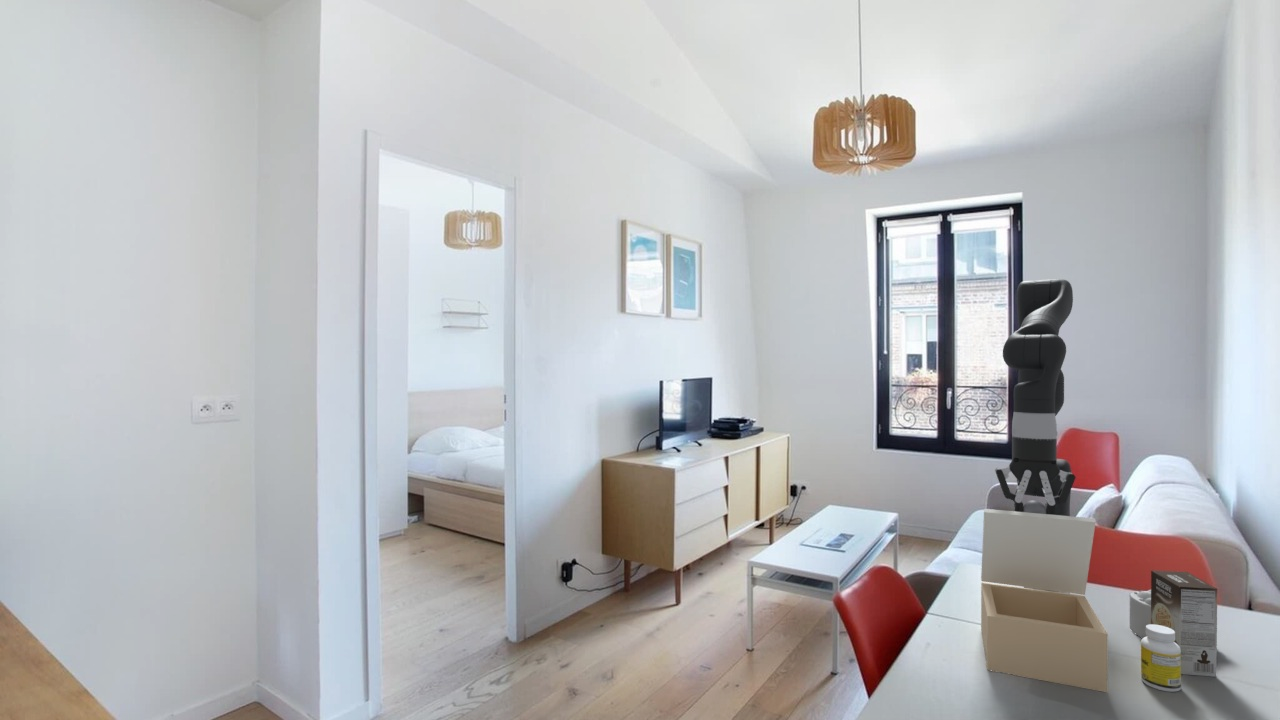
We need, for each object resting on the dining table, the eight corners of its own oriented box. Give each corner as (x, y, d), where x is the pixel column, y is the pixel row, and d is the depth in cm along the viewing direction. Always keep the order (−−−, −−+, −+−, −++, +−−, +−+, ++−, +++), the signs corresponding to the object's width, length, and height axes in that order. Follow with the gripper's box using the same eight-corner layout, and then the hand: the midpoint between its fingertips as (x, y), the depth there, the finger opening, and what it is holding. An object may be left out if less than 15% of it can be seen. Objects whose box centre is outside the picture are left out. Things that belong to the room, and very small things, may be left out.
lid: (981, 581, 133) (979, 558, 138) (1084, 594, 125) (1079, 569, 130) (984, 512, 124) (982, 490, 129) (1095, 522, 117) (1089, 498, 122)
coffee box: (1148, 651, 123) (1148, 568, 123) (1186, 654, 122) (1186, 571, 122) (1178, 674, 114) (1178, 585, 114) (1219, 678, 113) (1219, 588, 113)
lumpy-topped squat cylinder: (1186, 655, 122) (1186, 610, 122) (1115, 628, 134) (1115, 587, 134) (1220, 647, 125) (1221, 603, 125) (1148, 621, 137) (1148, 581, 137)
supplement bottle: (1141, 673, 115) (1141, 619, 115) (1180, 683, 111) (1180, 627, 111) (1140, 685, 110) (1140, 629, 110) (1181, 696, 107) (1181, 638, 107)
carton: (981, 629, 133) (981, 582, 133) (1084, 646, 126) (1084, 595, 125) (987, 670, 116) (987, 615, 116) (1107, 692, 108) (1107, 633, 108)
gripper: (1073, 435, 126) (1073, 522, 126) (991, 432, 132) (991, 514, 132) (1081, 439, 119) (1081, 530, 119) (994, 435, 125) (994, 522, 125)
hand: (1034, 521), depth 125 cm, fingers closed on lid, 4 cm apart
